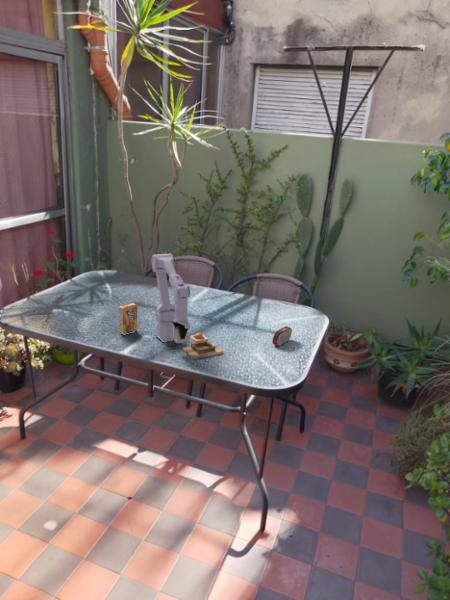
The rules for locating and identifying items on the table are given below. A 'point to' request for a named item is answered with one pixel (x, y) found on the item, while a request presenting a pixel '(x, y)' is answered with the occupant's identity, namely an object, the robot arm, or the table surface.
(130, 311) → the candy box
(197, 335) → the button
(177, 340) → the billet
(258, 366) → the table surface
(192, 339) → the button housing
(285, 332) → the sandwich
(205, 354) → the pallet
